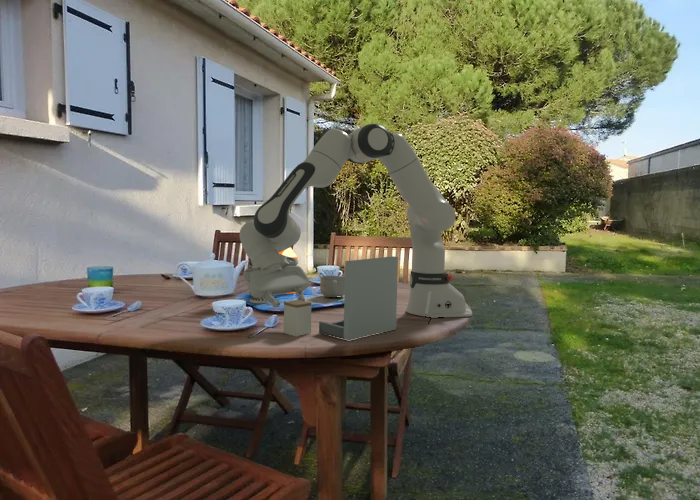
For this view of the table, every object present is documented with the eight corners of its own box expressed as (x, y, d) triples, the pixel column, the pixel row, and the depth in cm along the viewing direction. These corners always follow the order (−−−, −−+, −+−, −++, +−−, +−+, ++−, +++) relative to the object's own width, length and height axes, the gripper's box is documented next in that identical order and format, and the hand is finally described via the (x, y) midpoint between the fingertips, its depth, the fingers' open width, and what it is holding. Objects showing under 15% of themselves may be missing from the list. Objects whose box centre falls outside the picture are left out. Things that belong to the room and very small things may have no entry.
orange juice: (278, 294, 222) (279, 243, 220) (272, 290, 230) (272, 241, 228) (297, 293, 225) (298, 243, 223) (290, 289, 233) (291, 241, 231)
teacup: (322, 293, 225) (323, 274, 224) (349, 295, 223) (350, 275, 222) (315, 300, 211) (316, 279, 210) (344, 301, 210) (344, 280, 209)
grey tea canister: (298, 329, 165) (298, 299, 164) (310, 333, 162) (311, 302, 161) (283, 332, 161) (284, 302, 161) (296, 336, 158) (296, 305, 157)
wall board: (366, 323, 176) (368, 253, 174) (395, 330, 167) (398, 257, 165) (319, 333, 162) (320, 257, 159) (348, 341, 153) (350, 261, 151)
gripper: (245, 262, 160) (266, 302, 154) (300, 258, 174) (321, 293, 168) (236, 276, 163) (256, 315, 157) (291, 270, 178) (311, 306, 172)
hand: (290, 304), depth 163 cm, fingers open, 8 cm apart
